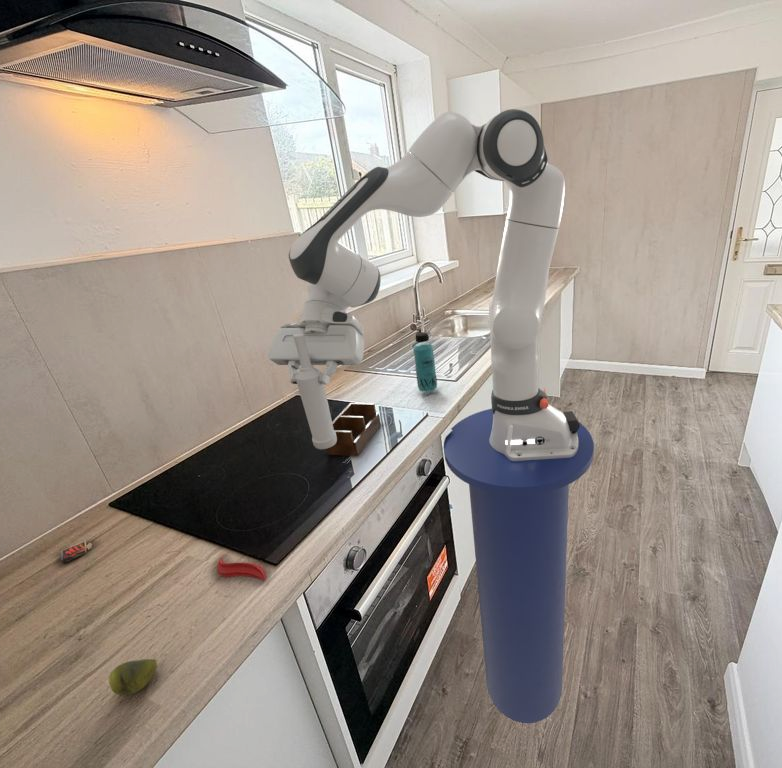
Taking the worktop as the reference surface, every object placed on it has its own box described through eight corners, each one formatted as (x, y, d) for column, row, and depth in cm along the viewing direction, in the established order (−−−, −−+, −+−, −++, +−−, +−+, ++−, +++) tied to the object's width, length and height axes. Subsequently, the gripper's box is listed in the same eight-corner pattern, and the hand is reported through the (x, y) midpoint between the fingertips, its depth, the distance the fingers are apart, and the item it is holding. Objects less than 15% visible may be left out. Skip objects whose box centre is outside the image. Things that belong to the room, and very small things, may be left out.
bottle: (342, 440, 91) (317, 332, 81) (323, 452, 88) (295, 340, 77) (327, 434, 94) (301, 329, 84) (308, 446, 90) (278, 337, 80)
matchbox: (65, 564, 78) (64, 563, 77) (56, 554, 80) (55, 552, 80) (95, 548, 81) (94, 546, 81) (86, 538, 84) (85, 536, 84)
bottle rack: (381, 425, 118) (377, 403, 115) (358, 456, 104) (353, 432, 101) (354, 424, 119) (350, 402, 117) (328, 454, 106) (322, 431, 103)
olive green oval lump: (113, 693, 56) (97, 670, 53) (152, 661, 59) (138, 638, 57) (128, 711, 53) (111, 688, 51) (168, 676, 57) (154, 653, 55)
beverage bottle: (414, 392, 136) (406, 334, 128) (430, 385, 140) (423, 329, 132) (426, 398, 132) (418, 338, 123) (442, 391, 135) (436, 332, 127)
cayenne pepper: (209, 567, 75) (205, 559, 74) (233, 549, 78) (230, 541, 77) (247, 595, 68) (243, 587, 68) (271, 574, 72) (268, 566, 71)
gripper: (270, 317, 88) (254, 377, 83) (359, 314, 84) (347, 378, 79) (287, 330, 94) (273, 387, 89) (371, 329, 90) (361, 389, 85)
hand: (308, 383), depth 84 cm, fingers closed on bottle, 5 cm apart
